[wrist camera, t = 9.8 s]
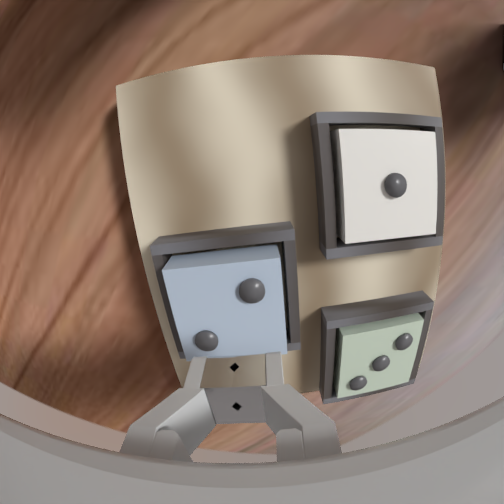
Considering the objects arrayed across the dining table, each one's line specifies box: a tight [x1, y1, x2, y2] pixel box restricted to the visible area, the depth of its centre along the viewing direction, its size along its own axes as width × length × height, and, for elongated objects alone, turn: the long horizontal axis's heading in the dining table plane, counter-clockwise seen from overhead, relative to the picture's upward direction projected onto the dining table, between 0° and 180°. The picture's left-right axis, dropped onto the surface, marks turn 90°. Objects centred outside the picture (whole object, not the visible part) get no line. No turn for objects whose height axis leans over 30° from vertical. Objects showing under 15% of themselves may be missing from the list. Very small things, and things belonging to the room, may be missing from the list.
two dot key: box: [162, 244, 287, 361], centre depth 14 cm, size 5×5×2 cm
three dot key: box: [333, 313, 424, 398], centre depth 16 cm, size 5×5×2 cm
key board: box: [116, 55, 446, 404], centre depth 15 cm, size 17×20×4 cm
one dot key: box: [330, 129, 437, 244], centre depth 12 cm, size 5×5×2 cm
